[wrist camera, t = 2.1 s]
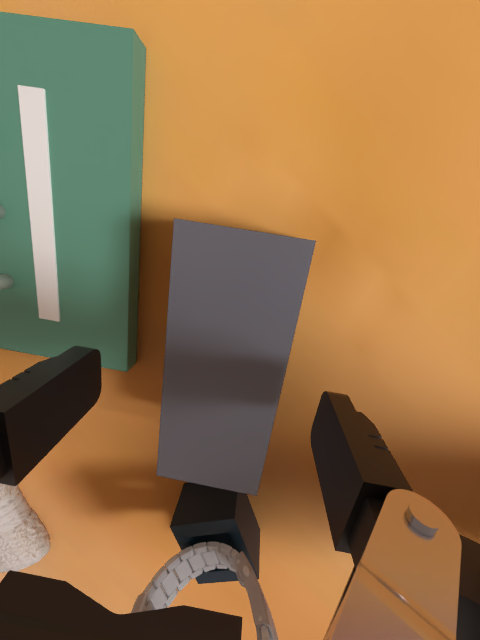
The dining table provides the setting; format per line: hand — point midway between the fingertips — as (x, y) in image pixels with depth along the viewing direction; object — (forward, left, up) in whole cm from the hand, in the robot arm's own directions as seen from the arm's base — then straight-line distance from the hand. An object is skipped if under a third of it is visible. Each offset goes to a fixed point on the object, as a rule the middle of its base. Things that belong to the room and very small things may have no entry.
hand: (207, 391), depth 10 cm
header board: (+13, -5, -7) cm, 15 cm away
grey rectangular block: (0, 0, -7) cm, 7 cm away
